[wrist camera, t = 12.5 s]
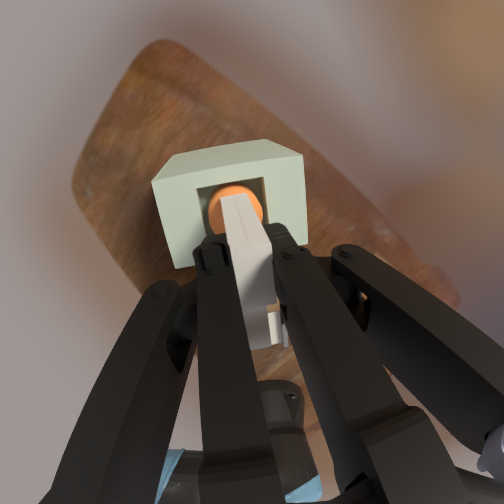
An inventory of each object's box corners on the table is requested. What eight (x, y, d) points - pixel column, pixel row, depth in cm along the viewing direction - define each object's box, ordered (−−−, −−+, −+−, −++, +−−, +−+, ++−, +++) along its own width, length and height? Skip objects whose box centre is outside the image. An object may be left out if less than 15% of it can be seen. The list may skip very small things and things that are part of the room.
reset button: (258, 221, 19) (265, 236, 17) (213, 230, 19) (214, 246, 17) (252, 177, 18) (259, 186, 15) (204, 186, 17) (203, 196, 15)
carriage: (275, 293, 32) (297, 351, 24) (216, 305, 31) (222, 366, 23) (267, 212, 27) (293, 257, 19) (196, 225, 26) (193, 277, 18)
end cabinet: (272, 196, 28) (308, 243, 18) (185, 212, 27) (175, 269, 18) (265, 139, 25) (302, 155, 15) (172, 155, 24) (151, 181, 15)
